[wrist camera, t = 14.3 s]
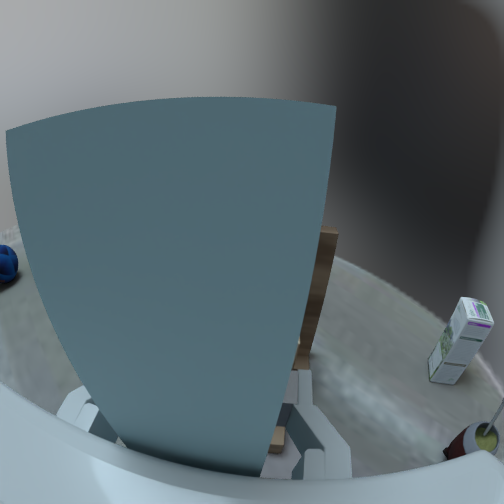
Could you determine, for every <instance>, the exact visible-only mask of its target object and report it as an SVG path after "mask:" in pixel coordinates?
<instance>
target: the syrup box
mask: <svg viewBox="0 0 504 504" xmlns="http://www.w3.org/2000/svg"><path fill="white" fill-rule="evenodd" d="M493 325H494V322H493V319H492V317H491V314H490V312H489V310H488V307H487V305H486V303H485V302H483V301H480V300H476V299H472V298H466V297H461V298H460V300H459V303H458V305H457V307H456V309H455V311H454V313H453V315H452V317H451V319H450V321H449V323H448V325H447V327H446V328H445V330H444V332H443V334H442V336H441V338H440V339H439V341H438V343H437V345H436V346H435V348H434V350H433V352H432V353H431V355H430V357H429V358H428V366H429V378H430V381H431V382H436V383H443V384H451V385H454V384H455V383H456V381H457V380H458V378H459V377H460V376H461V374H462V373H463V372H464V370H465V369H466V367H467V366H468V364H469V363H470V362H471V360H472V359H473V357H474V356H475V354H476V353H477V351H478V350H479V348H480V346H481V345H482V343H483V342H484V340H485V338H486V337H487V335H488V333H489V332H490V330H491V328H492V326H493Z"/></svg>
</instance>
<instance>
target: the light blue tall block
mask: <svg viewBox="0 0 504 504" xmlns="http://www.w3.org/2000/svg"><path fill="white" fill-rule="evenodd" d="M335 116H336V106H331V105H324V104H316V103H309V102H301V101H291V100H280V99H267V98H249V97H248V98H247V97H191V98H190V97H188V98H169V99H157V100H146V101H137V102H129V103H121V104H114V105H108V106H101V107H96V108H90V109H85V110H80V111H75V112H71V113H67V114H62V115H58V116H54V117H50V118H46V119H43V120H39V121H36V122H32V123H29V124H25V125H22V126H19V127H16V128H13V129H10V130H7V131H6V145H7V157H8V167H9V175H10V182H11V188H12V194H13V200H14V205H15V211H16V215H17V220H18V225H19V229H20V233H21V237H22V241H23V244H24V248H25V251H26V255H27V258H28V262H29V265H30V268H31V271H32V274H33V277H34V280H35V283H36V285H37V288H38V291H39V294H40V296H41V299H42V301H43V304H44V306H45V309H46V311H47V314H48V316H49V318H50V321H51V323H52V325H53V327H54V330H55V332H56V334H57V336H58V338H59V340H60V342H61V344H62V346H63V348H64V350H65V352H66V354H67V356H68V358H69V360H70V362H71V364H72V365H73V367H74V369H75V371H76V373H77V374H78V376H79V378H80V380H81V381H82V383H83V385H84V386H85V388H86V390H87V391H88V393H89V394H90V396H91V398H92V399H93V401H94V402H95V404H96V405H97V407H98V408H99V410H100V411H101V413H102V414H103V416H104V417H105V418H106V420H107V421H108V423H109V424H110V425H111V427H112V428H113V430H114V431H115V432H116V434H117V435H118V436H119V437H120V439H121V440H122V441H123V443H124V444H125V445H126V446H127V448H129V449H132V450H134V451H137V452H140V453H143V454H147V455H150V456H153V457H156V458H160V459H163V460H167V461H171V462H174V463H178V464H182V465H186V466H191V467H195V468H200V469H205V470H210V471H216V472H222V473H228V474H235V475H242V476H250V477H260V474H261V471H262V468H263V465H264V462H265V459H266V456H267V453H268V449H269V446H270V443H271V440H272V437H273V433H274V430H275V427H276V423H277V420H278V416H279V413H280V410H281V406H282V402H283V399H284V395H285V392H286V388H287V384H288V380H289V376H290V373H291V369H292V365H293V361H294V357H295V353H296V348H297V344H298V340H299V336H300V331H301V327H302V323H303V318H304V314H305V309H306V304H307V300H308V295H309V290H310V285H311V280H312V275H313V270H314V264H315V259H316V253H317V248H318V242H319V236H320V230H321V224H322V218H323V212H324V205H325V199H326V191H327V185H328V177H329V169H330V161H331V154H332V145H333V136H334V126H335Z"/></svg>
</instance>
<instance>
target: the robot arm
mask: <svg viewBox="0 0 504 504" xmlns="http://www.w3.org/2000/svg"><path fill="white" fill-rule="evenodd" d="M276 426H281V427H285V428H286V430H287V432H288V433H289V435H290V437H291V439H292V440H293V442H294V444H295V445H296V447H297V449H298V451H299V452H300V454H301V456H302V457H301V459H300V460H299V462H298V463H297V465H296V466H295V468H294V469H293V471H292V478H291V479H272V478H260V477H250V476H242V475H235V474H228V473H222V472H216V471H210V470H205V469H200V468H195V467H191V466H186V465H182V464H178V463H174V462H171V461H167V460H163V459H160V458H156V457H153V456H150V455H147V454H143V453H140V452H137V451H134V450H132V449H129V448H126V447H123V446H120V445H118V444H115V443H116V440H117V438H118V435H117V434H116V432H115V431H114V430H113V428H112V427H111V425H110V424H109V423H108V421H107V420H106V418H105V417H104V416H103V414H102V413H101V411H100V410H99V408H98V407H97V405H96V404H95V402H94V401H93V399H92V398H91V396H90V394H89V393H88V391H87V390H86V388H85V386H84V385H83V386H81V387H79V388H77V389H76V390H74V391H72V392H70V393H69V394H68V396H67V397H66V399H65V401H64V402H63V404H62V406H61V407H60V409H59V411H58V412H57V414H56V416H55V415H53V414H51V413H49V412H48V411H46V410H44V409H42V408H41V407H39V406H37V405H36V404H34V403H32V402H31V401H29V400H28V399H26V398H25V397H23V396H21V395H20V394H18V393H17V392H15V391H14V390H12V389H11V388H10V387H8V386H7V385H5V384H4V383H3V382H1V381H0V504H504V464H503V463H502V462H501V461H500V460H499V459H497V458H496V457H495V456H493V455H492V454H491V453H489V452H488V451H486V450H478V451H475V452H472V453H470V454H467V455H464V456H461V457H458V458H455V459H451V460H448V461H444V462H441V463H437V464H433V465H429V466H425V467H421V468H416V469H412V470H407V471H401V472H396V473H390V474H383V475H376V476H368V477H358V478H352V469H351V452H350V447H349V446H348V444H347V443H346V442H345V441H344V439H343V438H342V437H341V436H340V434H339V433H338V432H337V431H336V429H335V428H334V427H333V426H332V424H331V423H330V422H329V421H328V419H327V418H326V417H325V415H324V414H323V413H322V412H321V410H320V409H319V408H318V407H317V405H313V391H312V372H311V370H302V369H298V370H297V369H291V373H290V376H289V380H288V384H287V388H286V392H285V395H284V399H283V402H282V406H281V410H280V413H279V416H278V420H277V423H276Z"/></svg>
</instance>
